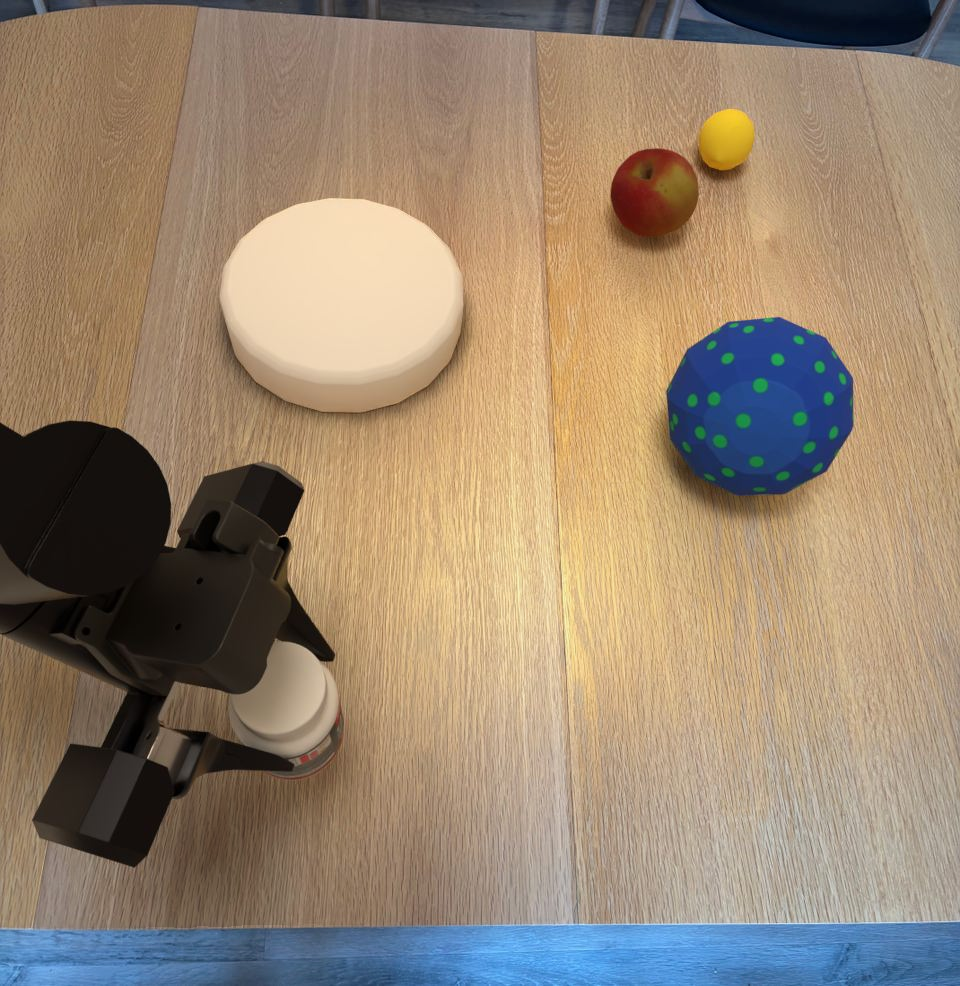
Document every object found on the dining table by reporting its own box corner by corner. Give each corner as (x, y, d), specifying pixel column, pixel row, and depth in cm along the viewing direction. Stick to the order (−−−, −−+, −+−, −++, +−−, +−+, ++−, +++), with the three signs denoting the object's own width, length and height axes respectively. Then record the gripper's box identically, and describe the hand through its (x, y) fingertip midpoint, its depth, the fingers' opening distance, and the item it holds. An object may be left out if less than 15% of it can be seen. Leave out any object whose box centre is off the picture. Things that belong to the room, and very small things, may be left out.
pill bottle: (363, 742, 51) (359, 699, 42) (280, 803, 49) (258, 771, 40) (310, 666, 53) (296, 610, 44) (228, 721, 51) (196, 675, 42)
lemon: (735, 191, 86) (755, 147, 81) (684, 174, 86) (701, 129, 82) (749, 147, 89) (769, 102, 84) (699, 131, 90) (716, 86, 85)
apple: (610, 188, 85) (630, 119, 78) (690, 209, 84) (717, 142, 77) (594, 242, 81) (613, 174, 74) (677, 264, 81) (705, 199, 73)
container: (198, 393, 69) (186, 358, 65) (258, 215, 79) (251, 175, 75) (444, 430, 70) (447, 397, 66) (474, 249, 79) (478, 211, 75)
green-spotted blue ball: (870, 315, 69) (890, 350, 56) (824, 477, 74) (833, 545, 61) (693, 288, 73) (673, 315, 59) (662, 445, 78) (637, 501, 65)
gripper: (-6, 822, 26) (350, 935, 35) (237, 356, 35) (471, 544, 44) (-116, 789, 33) (204, 890, 43) (109, 409, 42) (333, 561, 52)
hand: (309, 712), depth 45 cm, fingers closed on pill bottle, 6 cm apart
